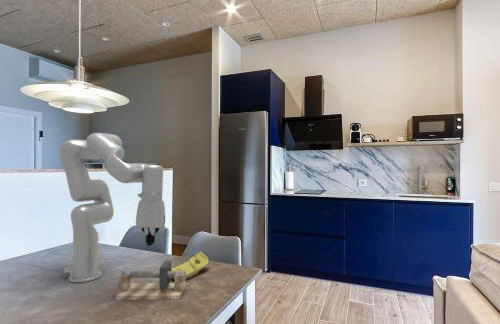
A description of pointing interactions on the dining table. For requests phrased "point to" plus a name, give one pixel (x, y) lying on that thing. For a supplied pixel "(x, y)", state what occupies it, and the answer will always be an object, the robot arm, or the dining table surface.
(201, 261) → the plastic component
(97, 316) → the dining table surface
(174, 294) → the pipe stand
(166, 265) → the collar
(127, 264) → the dining table surface
